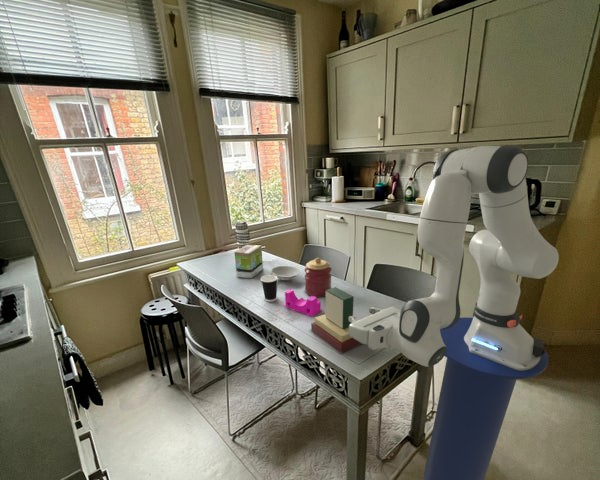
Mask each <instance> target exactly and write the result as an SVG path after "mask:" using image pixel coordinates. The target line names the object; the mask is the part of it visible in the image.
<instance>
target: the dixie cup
mask: <svg viewBox="0 0 600 480" xmlns="http://www.w3.org/2000/svg"><path fill="white" fill-rule="evenodd" d="M278 280H279V278H278V277H277V276H275V275H273V274H267V275H266V274H265V275H263V276H261V277H260V281H261V285H262V291H263V293H264V294H263V295H264V299H265V301H266V302H271V303H272V302H275V301H276V299H277V291H278V287H277V286H278Z"/></svg>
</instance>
